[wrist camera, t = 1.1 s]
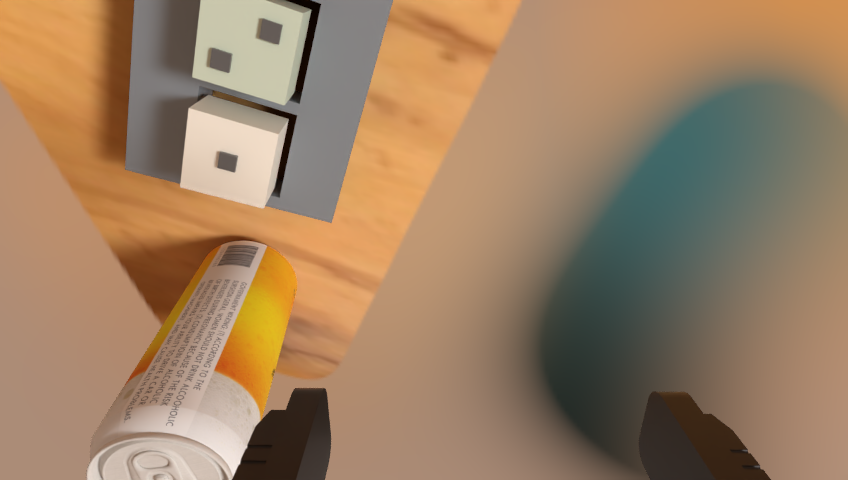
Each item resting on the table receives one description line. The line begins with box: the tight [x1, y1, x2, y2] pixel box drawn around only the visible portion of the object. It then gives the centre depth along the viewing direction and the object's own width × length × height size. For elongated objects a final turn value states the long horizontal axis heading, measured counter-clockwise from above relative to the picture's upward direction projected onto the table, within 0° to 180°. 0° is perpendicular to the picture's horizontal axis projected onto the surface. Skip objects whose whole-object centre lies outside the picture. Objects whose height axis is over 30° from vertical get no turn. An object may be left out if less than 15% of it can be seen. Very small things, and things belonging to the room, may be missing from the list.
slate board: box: [125, 0, 393, 223], centre depth 24 cm, size 11×17×2 cm, turn 161°
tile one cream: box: [180, 95, 289, 209], centre depth 24 cm, size 4×4×3 cm
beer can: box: [86, 241, 297, 480], centre depth 25 cm, size 6×6×15 cm
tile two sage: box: [192, 0, 311, 105], centre depth 22 cm, size 4×4×3 cm
